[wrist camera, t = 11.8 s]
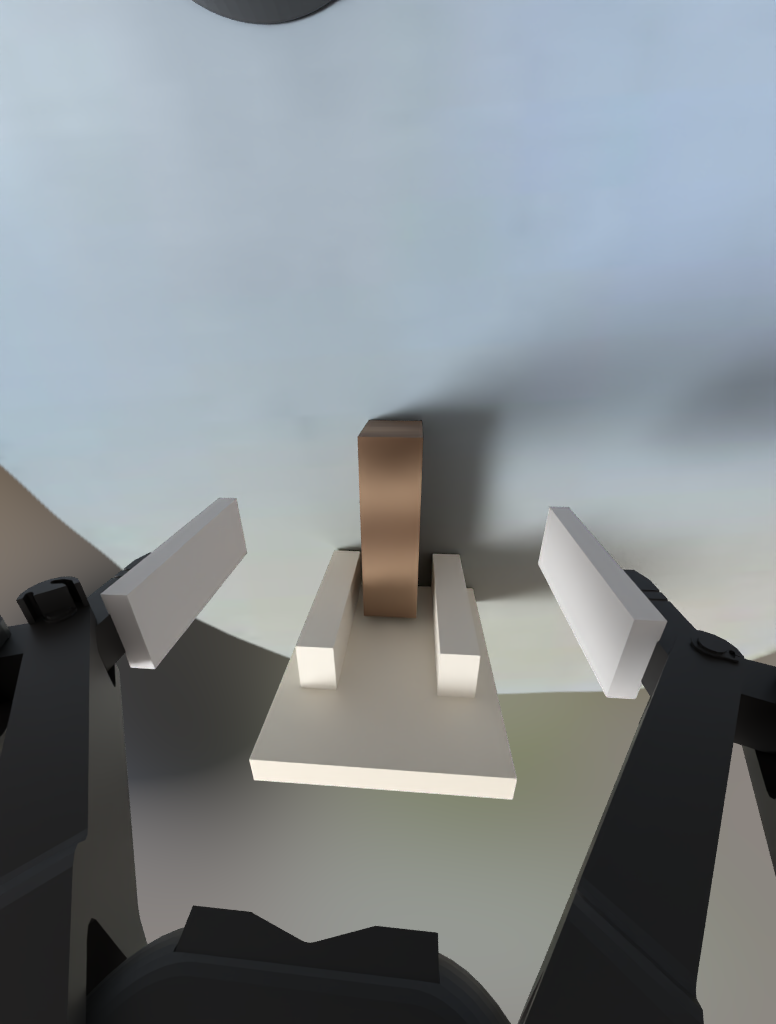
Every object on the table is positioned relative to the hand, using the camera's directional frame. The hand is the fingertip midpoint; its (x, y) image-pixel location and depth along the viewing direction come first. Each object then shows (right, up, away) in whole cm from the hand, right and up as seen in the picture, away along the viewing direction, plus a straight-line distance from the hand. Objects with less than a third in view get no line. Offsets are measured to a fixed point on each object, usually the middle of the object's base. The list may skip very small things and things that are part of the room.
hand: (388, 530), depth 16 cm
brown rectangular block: (0, +1, +11) cm, 11 cm away
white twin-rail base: (+1, -4, +13) cm, 13 cm away
